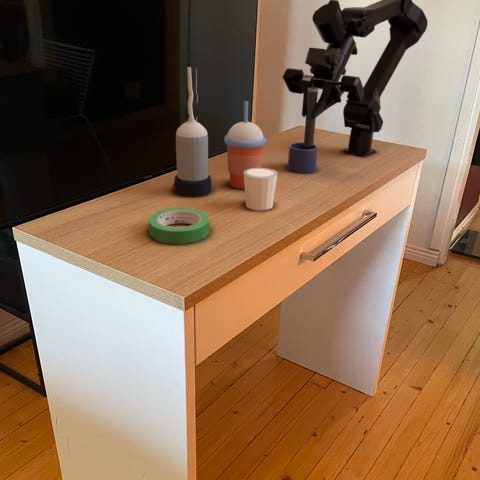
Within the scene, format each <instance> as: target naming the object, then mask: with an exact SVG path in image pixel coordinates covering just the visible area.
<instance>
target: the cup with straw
mask: <svg viewBox="0 0 480 480" xmlns="http://www.w3.org/2000/svg"><path fill="white" fill-rule="evenodd" d="M223 142H224V144H225V146H227V147H226V149H227V150H226V158H227V169H228V171H227V172H229V173H228V174H229V183H230V186H231V187H233V188H235V189H239V190H245V186H244V171H245V170H247V169H250V168H262V161H263V155H264V154H263V153H264V151H263V147H264V146H265V145H266V143H267V138H266V136H265V135H264V133H263V131H262V129H261V128H260V127H259V126H258V125H257V124H255V123H254V122H251V121H249V101H248V100H244V101H243V121H239V122H237V123H235V124H234V125H232V126H231V127H230V129H228V132H227V134H225V135H224V139H223Z"/></svg>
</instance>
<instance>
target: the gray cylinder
mask: <svg viewBox="0 0 480 480" xmlns="http://www.w3.org/2000/svg"><path fill="white" fill-rule="evenodd" d="M318 94H319V89H318V88H316V87H309V88H308V96H307V109H306V116H305V124H304V126H305V127H304V138H303V143H304V145H305V146H313V144H315V143H314V141H315V140H314V139H315V131H316V130H315V129H316V118H317V117H316V118H315V119H312V113H313V110H314V108H315V106H316V104H317V102H318Z"/></svg>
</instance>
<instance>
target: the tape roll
mask: <svg viewBox="0 0 480 480" xmlns="http://www.w3.org/2000/svg"><path fill="white" fill-rule="evenodd" d="M175 224H186V226H170V225H175ZM187 225H188V226H187ZM148 230H149V235H150V237H151V238H152V239H154V240H155V241H158V242H160V243H164V244H169V245H186V244H193V243H195V242H199V241H201V240H204V239H205V238H206V237H208V235H209V234H210V217H209V215H208V214H207V213H206V212H204V211H202V210H200V209H196V208H192V207H171V208H165V209H162V210H159V211H155V212H154V213H153V214H151V215H150V216H149V219H148Z"/></svg>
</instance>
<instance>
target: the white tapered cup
mask: <svg viewBox="0 0 480 480" xmlns="http://www.w3.org/2000/svg"><path fill="white" fill-rule="evenodd" d="M277 179H278V172H277V170H275V169H272V168H267V167H261V168H250V169H247V170H245V171H244V186H245V189H244V198H245V200H244V201H245V207H246V208H248V209H250V210H254V211H267V210H270V209H272V208H273V207H274V200H275V194H276V187H277V181H278V180H277Z"/></svg>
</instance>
